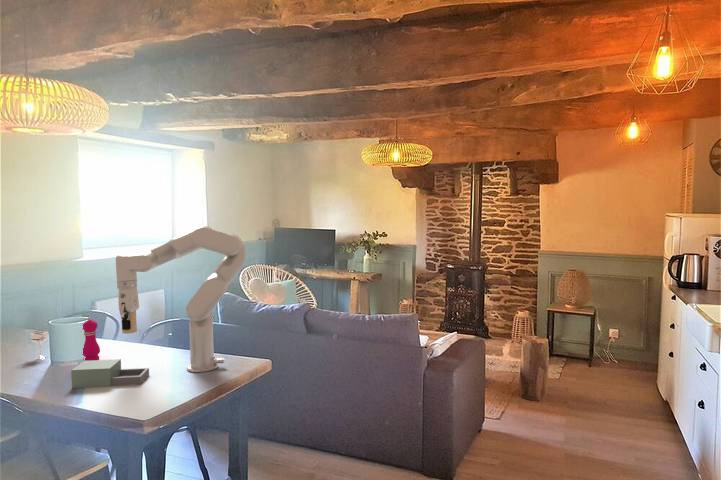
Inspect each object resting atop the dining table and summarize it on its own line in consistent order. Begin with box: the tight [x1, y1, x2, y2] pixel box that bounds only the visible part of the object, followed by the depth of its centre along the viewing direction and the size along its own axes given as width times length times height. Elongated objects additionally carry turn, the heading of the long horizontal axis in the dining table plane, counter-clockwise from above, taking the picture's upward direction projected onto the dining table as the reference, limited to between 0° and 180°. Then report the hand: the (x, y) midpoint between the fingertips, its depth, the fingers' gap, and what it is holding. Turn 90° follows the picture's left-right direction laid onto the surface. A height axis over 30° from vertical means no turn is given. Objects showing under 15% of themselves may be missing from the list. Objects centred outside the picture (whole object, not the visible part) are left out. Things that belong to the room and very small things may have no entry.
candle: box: [121, 310, 138, 335], centre depth 210 cm, size 6×6×10 cm
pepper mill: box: [82, 316, 101, 361], centre depth 229 cm, size 7×7×20 cm
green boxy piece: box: [70, 358, 150, 389], centre depth 201 cm, size 25×12×7 cm, turn 96°
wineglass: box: [30, 329, 49, 360], centre depth 235 cm, size 7×7×12 cm
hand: (129, 327), depth 210 cm, fingers closed on candle, 5 cm apart
